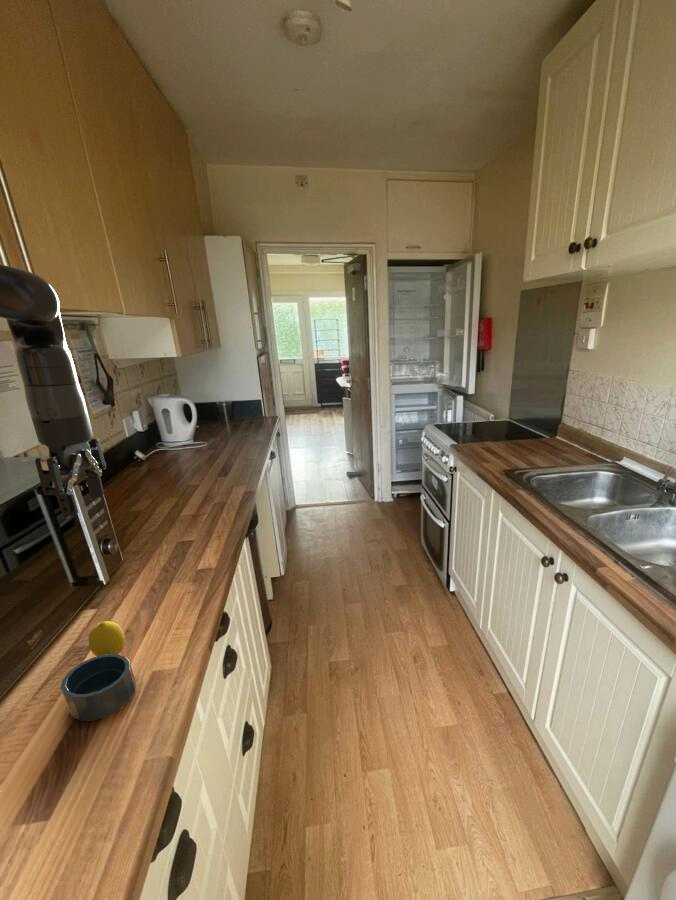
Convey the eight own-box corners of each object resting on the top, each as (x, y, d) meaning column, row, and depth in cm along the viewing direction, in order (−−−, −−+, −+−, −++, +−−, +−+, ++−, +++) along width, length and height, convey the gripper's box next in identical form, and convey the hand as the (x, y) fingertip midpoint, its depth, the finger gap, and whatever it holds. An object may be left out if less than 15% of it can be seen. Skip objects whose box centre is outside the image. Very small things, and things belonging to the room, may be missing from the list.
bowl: (56, 724, 66) (46, 698, 64) (91, 678, 75) (83, 654, 73) (118, 722, 67) (110, 696, 65) (146, 677, 76) (140, 653, 73)
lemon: (87, 665, 78) (75, 630, 75) (110, 645, 83) (100, 611, 80) (114, 670, 77) (103, 634, 74) (135, 649, 82) (126, 615, 79)
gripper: (61, 404, 75) (85, 491, 81) (2, 421, 62) (35, 522, 68) (106, 405, 76) (126, 490, 82) (57, 421, 63) (84, 521, 69)
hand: (85, 505), depth 75 cm, fingers open, 8 cm apart
